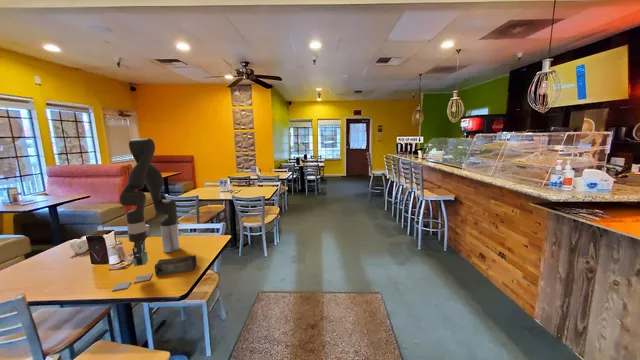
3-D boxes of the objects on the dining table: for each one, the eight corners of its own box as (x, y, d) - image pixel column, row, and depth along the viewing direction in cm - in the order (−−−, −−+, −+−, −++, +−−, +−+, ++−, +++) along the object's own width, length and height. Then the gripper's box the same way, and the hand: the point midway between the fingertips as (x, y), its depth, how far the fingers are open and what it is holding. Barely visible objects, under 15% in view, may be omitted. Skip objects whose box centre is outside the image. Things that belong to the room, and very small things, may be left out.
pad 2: (137, 276, 141) (137, 275, 141) (152, 274, 143) (152, 273, 143) (133, 283, 134) (133, 282, 134) (149, 280, 137) (149, 279, 137)
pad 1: (116, 285, 133) (116, 283, 133) (130, 282, 135) (130, 281, 135) (112, 291, 128) (112, 290, 128) (127, 288, 130) (127, 287, 130)
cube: (136, 262, 139) (135, 253, 138) (147, 260, 141) (146, 251, 140) (134, 266, 134) (132, 257, 134) (145, 264, 136) (144, 255, 135)
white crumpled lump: (80, 256, 168) (78, 242, 167) (64, 255, 170) (62, 241, 169) (98, 248, 179) (96, 235, 178) (83, 247, 181) (80, 235, 180)
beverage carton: (160, 269, 149) (158, 258, 148) (197, 264, 154) (196, 253, 153) (155, 276, 142) (153, 264, 141) (194, 271, 146) (193, 259, 145)
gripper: (132, 227, 140) (136, 258, 143) (123, 236, 127) (128, 270, 130) (148, 225, 143) (152, 256, 145) (142, 234, 130) (146, 267, 132)
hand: (141, 262), depth 137 cm, fingers closed on cube, 5 cm apart
